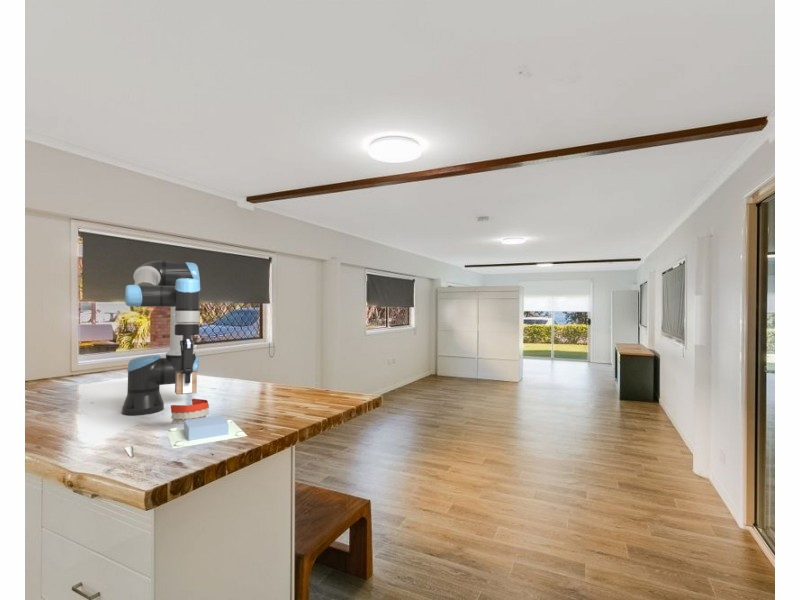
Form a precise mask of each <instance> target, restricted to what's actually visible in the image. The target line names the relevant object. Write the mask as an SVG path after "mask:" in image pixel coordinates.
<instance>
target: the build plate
mask: <svg viewBox="0 0 800 600" xmlns="http://www.w3.org/2000/svg"><path fill="white" fill-rule="evenodd" d="M225 420H226V421H227V422H228V423H229V424H228V435H223V436H217V437H210V438H204V439H198V440H192V441H189V440H188V439H187V437H186V435H185V433H184V427H182V428H178V427H177V426H173V427H169V428H168V430H165V432H166V434H167V437H168V440H169V442H170V445H171V448H172V449H178V448H185V447H190V446H195V445H201V444H208V443H214V442H220V441H226V440H232V439H237V438H243V437H248V435H247V434H246V433H245V432H244V431H243V430H242V429H241V428H240V427H239V426H238V424H236V423H235V422H234V421H233V420H232V419H225Z"/></svg>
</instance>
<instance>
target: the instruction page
mask: <svg viewBox="0 0 800 600" xmlns="http://www.w3.org/2000/svg"><path fill="white" fill-rule="evenodd" d="M133 447H134V446H133V445H132V446H127V447H124V448H123V449H124V451H125V452H126V453H127V454H128V456H129V457H130V458H133V457H134V455H135V454H134V448H133Z"/></svg>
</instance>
